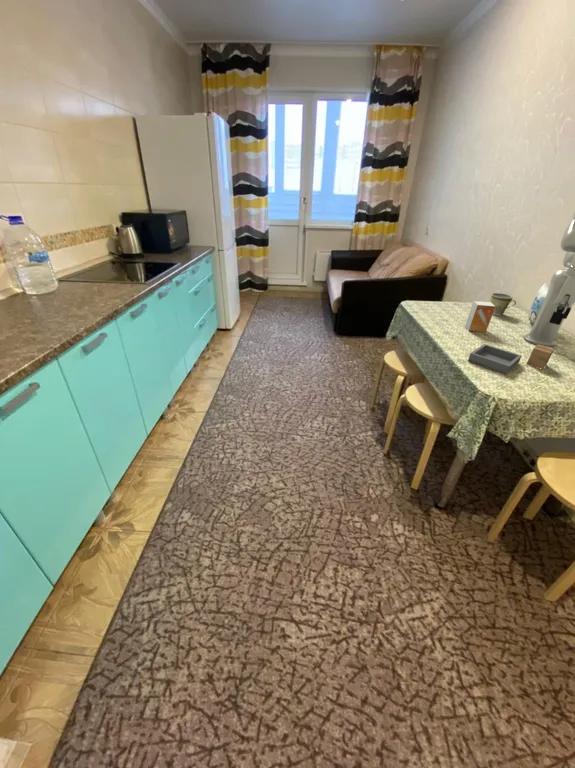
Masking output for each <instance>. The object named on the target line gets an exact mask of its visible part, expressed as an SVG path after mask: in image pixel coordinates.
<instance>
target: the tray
mask: <svg viewBox="0 0 575 768" xmlns="http://www.w3.org/2000/svg"><path fill="white" fill-rule="evenodd" d="M521 359H522V355H521V354H518V353H514V352H512V351H509V350H504V349H501V348H499V347H495V346H493V345H489V344H486V343H483V344H482V345H481V346H479V347H477V348H476V349H474V350H473V351H472V352H470V353H469V357H468V359H467V362H469V363H471V362H472V363H471V364H474V365H477V366H480V367H483V368H486V369H489V370H492V371H494V372H496V373H500V374H503V375H505V376H506V375H507V374H509V373H510V372H511V371H512V370H514V368H515V367H516V366H517V365H519V362H520V361H521Z"/></svg>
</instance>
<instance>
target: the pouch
mask: <svg viewBox="0 0 575 768" xmlns="http://www.w3.org/2000/svg"><path fill="white" fill-rule="evenodd" d="M548 289H549V285H548V284H547V283H546V282H545V283H544V284H543V285H542V286H541V287H540V288H539V289H538V291H537V293H536V295H535V296H534V299H533V301H532V304H531V306H530V309H529V313H528V321H529V322H530V323H531V324H532V326H533V325H534V322H535V320H536V318H537V316H538V313H539V311H540V309H541V307H542V304H543V302H544V300H545V297H546V295H547V292H548Z"/></svg>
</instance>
